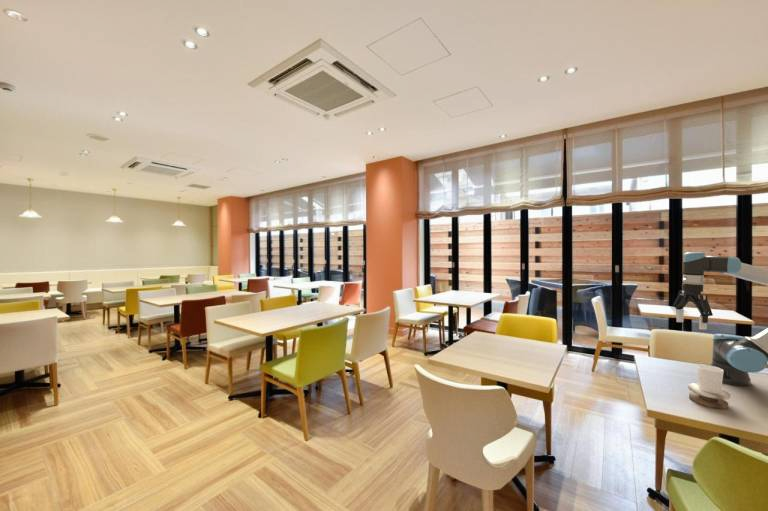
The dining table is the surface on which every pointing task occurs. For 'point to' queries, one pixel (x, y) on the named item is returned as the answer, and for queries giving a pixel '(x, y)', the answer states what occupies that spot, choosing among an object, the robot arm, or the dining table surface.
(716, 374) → the white cup
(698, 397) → the cake stand
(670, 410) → the dining table surface
